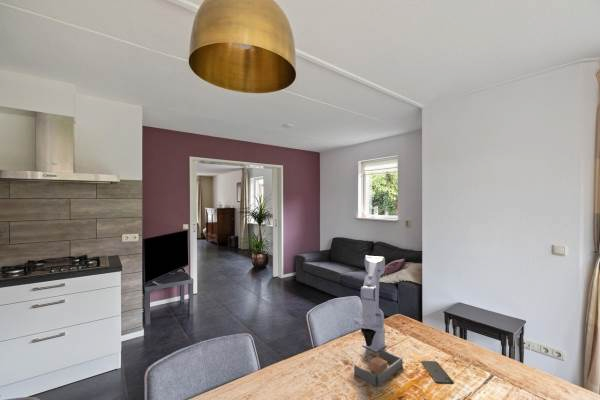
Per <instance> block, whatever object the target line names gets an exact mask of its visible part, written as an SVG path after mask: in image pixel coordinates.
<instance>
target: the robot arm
mask: <svg viewBox="0 0 600 400" xmlns="http://www.w3.org/2000/svg"><path fill="white" fill-rule="evenodd" d="M385 266H386V259H385V257H384V256H377V255H376V256H374V255H367V254H366V255H365V256H364V267H365V271H366V273H367V274H366V275H365V276H364V281H363V284H362V285H363V286H361V287H360V300H361V305H362V306H361V310H362V312H361V315H362V316H361V319H360V318H356V317H355V318H354V319H353V324H354V325H358V326H361V328H360V332H361V333H362V335H363V337H364V341H365V343H363V344H362V345H361V346H362V347H364V348H367V349H369V350H371V351H373V352H375V353H377V352H379V349H382V350H383V348H385V347H386V346H387V344H386V342H385V341H386V340H385V338H386V335H385V334H386V328H385V314H384V312H383V311H382V309H380V307H379V300H380V299H379V297H380V278H381V275H384V273H385V268H386V267H385Z"/></svg>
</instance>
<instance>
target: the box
mask: <svg viewBox="0 0 600 400" xmlns="http://www.w3.org/2000/svg"><path fill="white" fill-rule="evenodd" d="M378 355H379V356H378V357H379V358H381V359H383V360H385V361H387V362H389V363H391V365H388V366H387V368H386V369H385V370H384V371H382V372H381V373H380V374H376V375H375V374H374V373H373V372H370V371H368V370H366V369H365V368H362V367H361V366H359V365H357V364H354V366H353V367H354V368H353V370H354V371H353V375H356V376H357V377H359V378H361V379H362V380H364V381H366V382H368V383H369V384H371V385H373V386H375V387H376V388H378V387H379V386H380V385H381V384H383V383H384V382H385V381H387V380H388V379H389V378H390V377H392V376H393V375H394V374H395V373H397V372H398V371H399V370H400V369H401V368H403V358H402V357H400V356H398V355H395V354H393V353H391V352H389V351H387V350H384V349H383V348H382V349H379V351H378Z"/></svg>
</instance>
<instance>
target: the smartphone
mask: <svg viewBox="0 0 600 400" xmlns="http://www.w3.org/2000/svg"><path fill="white" fill-rule="evenodd" d="M420 363H421V365H422V366H423V367H424V369H425V371H426V372H427V373H428V375H429V376H430V377H431V379H432V380H433V381H434V383H436V384H441V385H443V384H445V385H453V384H454V385H455V381H453V379H452V378H451V377H450V375H449V374H448V373H447V372H446V371H445V369H444V368H443V367H442V365H440V363H439V362H438V361H436V360H435V361H434V360H422V361H420Z"/></svg>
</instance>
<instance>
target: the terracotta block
mask: <svg viewBox="0 0 600 400" xmlns="http://www.w3.org/2000/svg"><path fill="white" fill-rule="evenodd" d="M369 362H370V363H369V366H370V367H369V369H370V371H371V372H372V373H376V375H378V374H380V373H381V372H382V371H384V370H385V369H386V368H388V361H387V360H385V359H383V358H381V357H379V356H375V357H373V358H372V359H371V360H370V361H369Z"/></svg>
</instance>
